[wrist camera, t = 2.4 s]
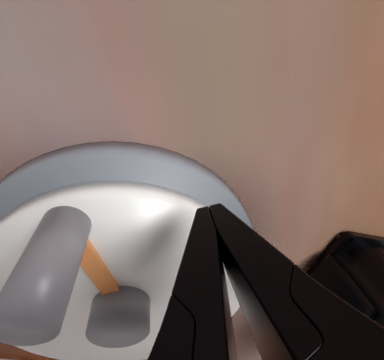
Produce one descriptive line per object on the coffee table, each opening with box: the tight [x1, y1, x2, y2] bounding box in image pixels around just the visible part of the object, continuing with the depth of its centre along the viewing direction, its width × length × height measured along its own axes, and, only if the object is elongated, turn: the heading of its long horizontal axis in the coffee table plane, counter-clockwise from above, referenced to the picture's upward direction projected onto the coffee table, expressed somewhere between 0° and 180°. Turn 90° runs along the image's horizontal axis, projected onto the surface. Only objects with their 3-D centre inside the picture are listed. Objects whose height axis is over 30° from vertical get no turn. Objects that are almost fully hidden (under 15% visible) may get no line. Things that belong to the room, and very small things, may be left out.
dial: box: [0, 181, 240, 360], centre depth 12 cm, size 14×14×5 cm
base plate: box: [0, 141, 253, 229], centre depth 14 cm, size 16×16×4 cm
